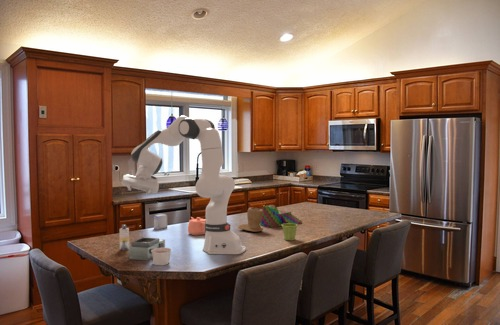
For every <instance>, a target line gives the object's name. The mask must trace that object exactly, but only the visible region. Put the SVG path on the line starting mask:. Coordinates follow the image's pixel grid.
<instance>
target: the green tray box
mask: <svg viewBox="0 0 500 325" xmlns="http://www.w3.org/2000/svg"><path fill="white" fill-rule="evenodd" d="M155 248H166V239H164V238H163V239H162V238H158V237H140V238H139V239H136V240H133V241H131V245H129V250H128V256H129V258H128V259H129V260H137V261H139V260H140V261H149V260H151V259H153V257H152V252H151V250H153V249H155Z"/></svg>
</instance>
